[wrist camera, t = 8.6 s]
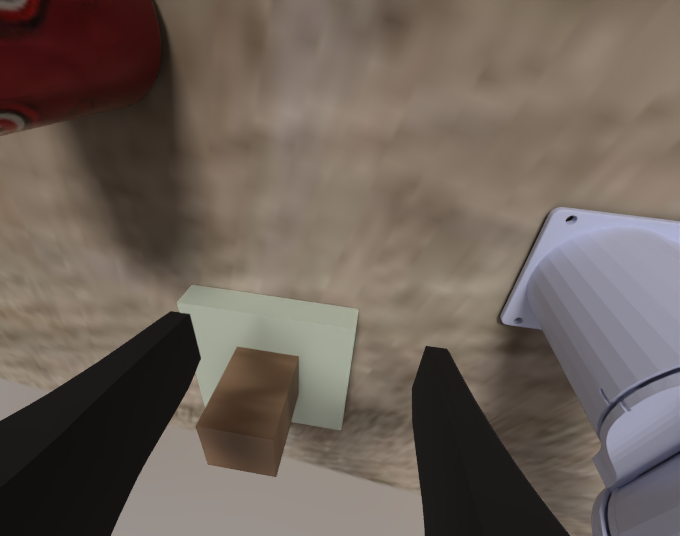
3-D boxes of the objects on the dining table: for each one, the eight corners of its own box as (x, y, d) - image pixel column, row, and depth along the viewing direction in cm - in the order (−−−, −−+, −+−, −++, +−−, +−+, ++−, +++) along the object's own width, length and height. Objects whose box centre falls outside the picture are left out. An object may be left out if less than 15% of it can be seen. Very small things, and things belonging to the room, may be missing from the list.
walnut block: (298, 356, 23) (273, 440, 18) (298, 394, 26) (276, 477, 21) (237, 346, 24) (195, 426, 19) (242, 385, 26) (207, 464, 21)
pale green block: (358, 309, 23) (355, 329, 21) (344, 409, 29) (341, 430, 28) (191, 284, 23) (176, 302, 22) (215, 387, 30) (205, 407, 29)
